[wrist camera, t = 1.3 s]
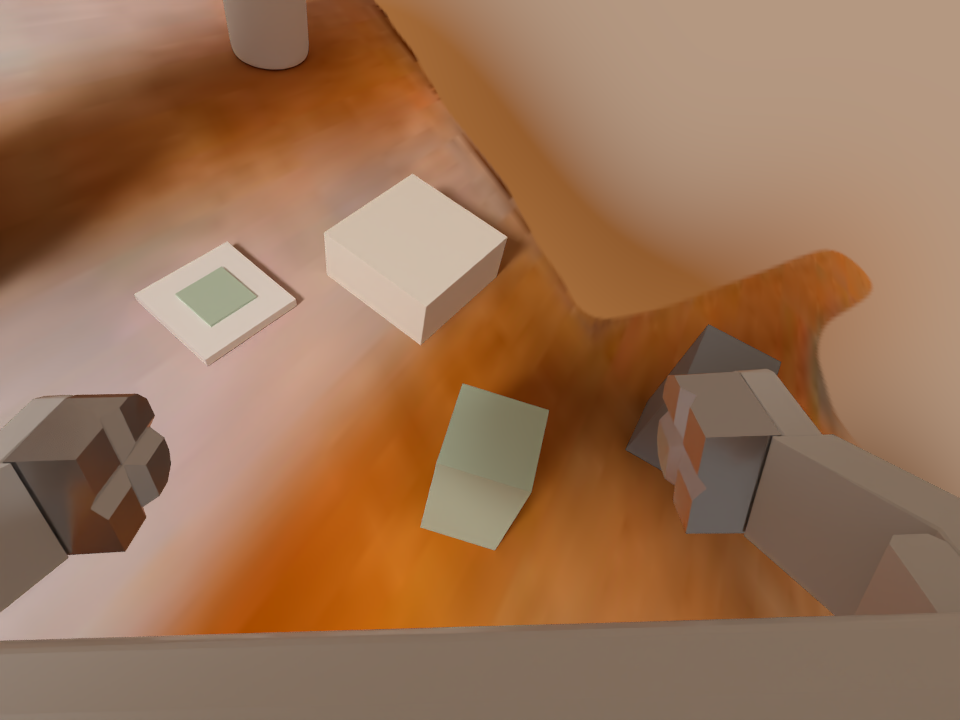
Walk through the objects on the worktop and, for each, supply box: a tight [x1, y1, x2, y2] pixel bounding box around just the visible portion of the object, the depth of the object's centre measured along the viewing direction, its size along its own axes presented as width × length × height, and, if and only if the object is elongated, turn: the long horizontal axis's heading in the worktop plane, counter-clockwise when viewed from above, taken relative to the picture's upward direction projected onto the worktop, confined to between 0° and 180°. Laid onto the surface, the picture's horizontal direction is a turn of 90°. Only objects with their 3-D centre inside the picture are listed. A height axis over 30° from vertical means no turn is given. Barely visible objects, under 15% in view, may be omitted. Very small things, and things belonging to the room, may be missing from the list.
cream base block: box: [324, 174, 507, 345], centre depth 48 cm, size 10×10×5 cm
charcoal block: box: [625, 324, 781, 470], centre depth 41 cm, size 5×5×10 cm
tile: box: [134, 242, 297, 366], centre depth 45 cm, size 8×8×1 cm
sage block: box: [421, 384, 549, 550], centre depth 36 cm, size 5×5×10 cm
